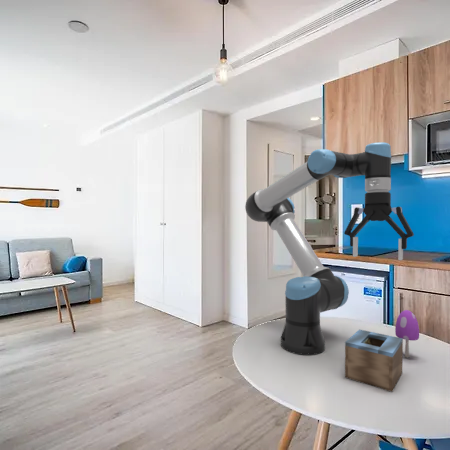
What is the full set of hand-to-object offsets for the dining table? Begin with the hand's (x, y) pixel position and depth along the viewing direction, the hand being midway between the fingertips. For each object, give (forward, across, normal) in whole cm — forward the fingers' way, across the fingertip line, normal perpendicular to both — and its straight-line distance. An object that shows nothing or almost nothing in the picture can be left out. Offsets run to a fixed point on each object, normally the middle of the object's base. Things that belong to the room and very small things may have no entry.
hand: (377, 258), depth 104 cm
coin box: (+32, +3, -14) cm, 35 cm away
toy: (+32, +8, +5) cm, 33 cm away
